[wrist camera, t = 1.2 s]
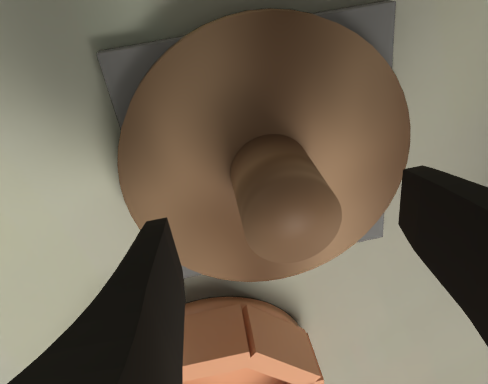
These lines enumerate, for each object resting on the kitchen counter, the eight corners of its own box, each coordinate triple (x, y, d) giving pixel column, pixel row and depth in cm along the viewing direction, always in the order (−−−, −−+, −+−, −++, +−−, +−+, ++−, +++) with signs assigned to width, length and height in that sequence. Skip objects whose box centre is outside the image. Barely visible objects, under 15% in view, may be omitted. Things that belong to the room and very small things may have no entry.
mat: (388, 0, 13) (395, 1, 13) (378, 230, 19) (382, 237, 18) (98, 50, 13) (96, 53, 13) (170, 273, 18) (170, 281, 18)
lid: (411, -18, 13) (504, -11, 9) (391, 242, 19) (445, 311, 15) (75, 40, 12) (30, 72, 9) (161, 291, 18) (157, 375, 14)
